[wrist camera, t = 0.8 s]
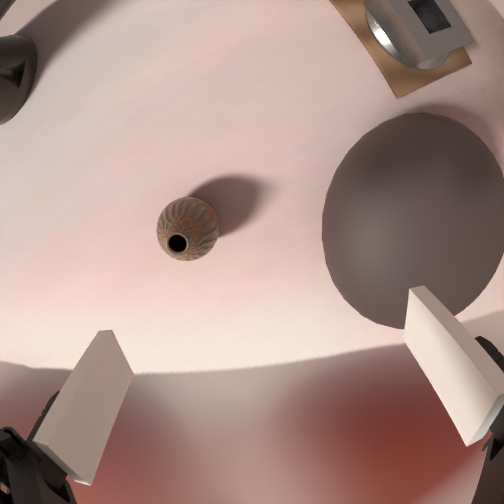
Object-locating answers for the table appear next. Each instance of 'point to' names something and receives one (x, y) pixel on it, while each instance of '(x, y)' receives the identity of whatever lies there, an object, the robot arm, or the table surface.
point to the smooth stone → (414, 217)
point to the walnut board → (393, 71)
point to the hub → (416, 30)
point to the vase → (187, 228)
